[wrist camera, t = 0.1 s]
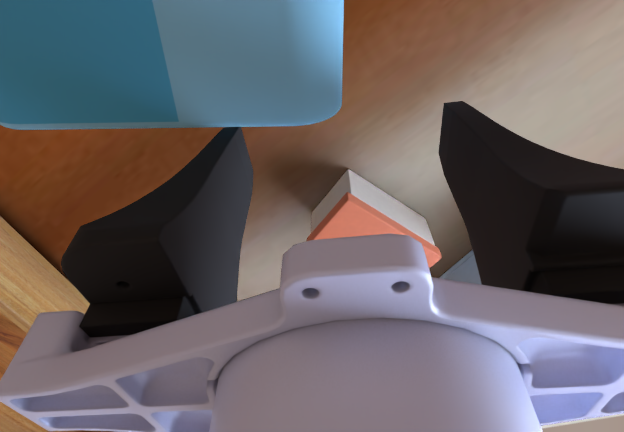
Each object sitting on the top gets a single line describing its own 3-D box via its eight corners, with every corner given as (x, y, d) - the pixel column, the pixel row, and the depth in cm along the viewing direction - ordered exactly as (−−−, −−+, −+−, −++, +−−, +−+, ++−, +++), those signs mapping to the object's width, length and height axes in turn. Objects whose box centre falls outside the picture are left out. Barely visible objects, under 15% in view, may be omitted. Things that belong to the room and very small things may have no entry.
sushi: (388, 257, 31) (396, 297, 28) (307, 211, 29) (305, 247, 25) (428, 219, 29) (442, 257, 26) (344, 166, 27) (347, 199, 23)
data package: (335, -51, 20) (347, -42, 10) (334, 46, 23) (343, 128, 13) (98, -44, 20) (-114, -30, 10) (124, 50, 23) (-27, 133, 13)
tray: (209, 409, 44) (196, 465, 39) (99, 434, 47) (74, 488, 43) (-19, 181, 28) (-87, 230, 23) (-158, 245, 32) (-242, 297, 27)
